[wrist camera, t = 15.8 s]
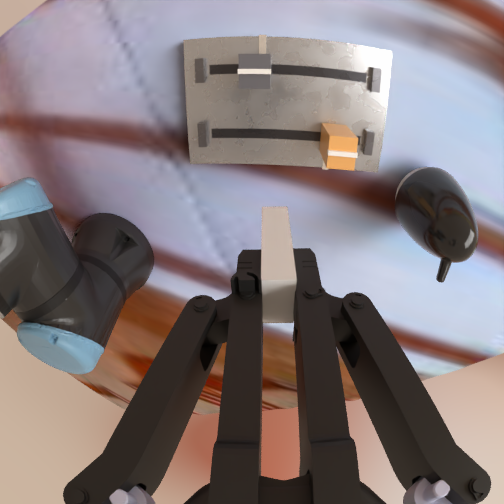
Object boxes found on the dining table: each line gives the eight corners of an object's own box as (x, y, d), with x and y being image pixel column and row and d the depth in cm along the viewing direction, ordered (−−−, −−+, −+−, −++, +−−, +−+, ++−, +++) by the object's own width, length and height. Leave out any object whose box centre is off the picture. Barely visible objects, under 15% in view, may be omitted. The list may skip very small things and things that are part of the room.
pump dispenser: (375, 211, 42) (409, 281, 30) (402, 147, 36) (456, 198, 24) (428, 228, 43) (469, 295, 31) (457, 171, 37) (514, 226, 25)
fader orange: (318, 150, 36) (326, 169, 31) (321, 122, 34) (329, 136, 29) (343, 153, 36) (355, 171, 31) (346, 125, 34) (359, 139, 28)
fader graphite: (244, 83, 32) (237, 89, 26) (243, 54, 29) (237, 53, 24) (271, 83, 31) (270, 89, 26) (271, 54, 29) (271, 53, 24)
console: (193, 159, 40) (188, 167, 37) (187, 39, 30) (180, 38, 28) (373, 168, 39) (379, 176, 36) (386, 49, 29) (395, 49, 26)
